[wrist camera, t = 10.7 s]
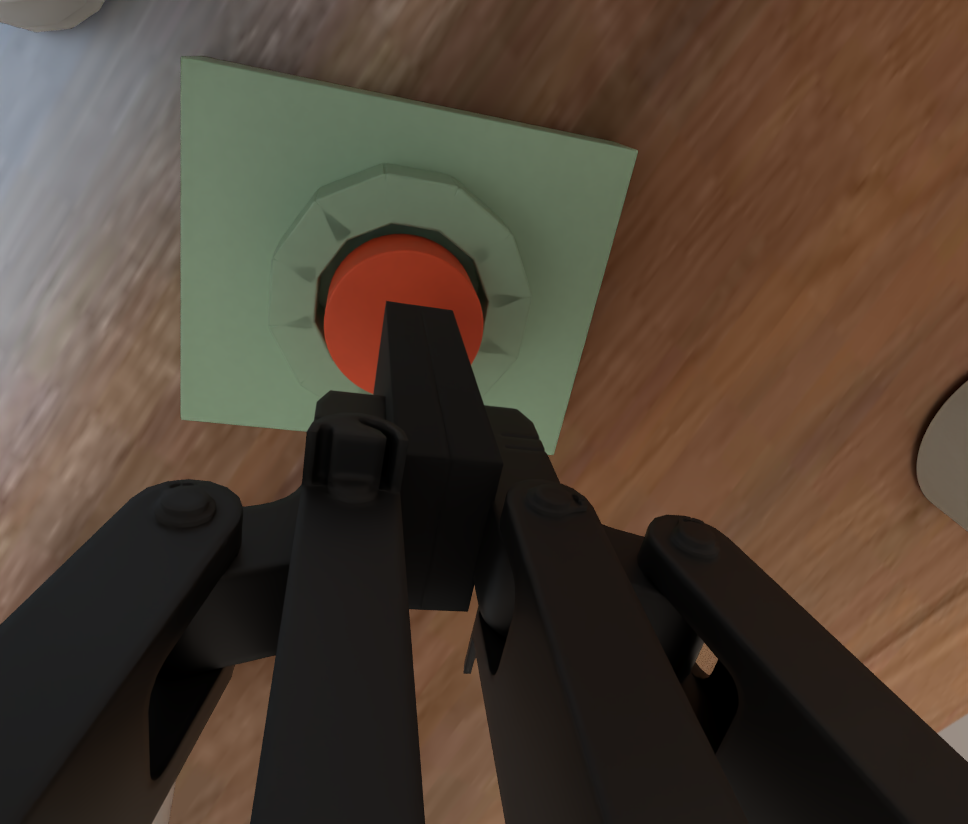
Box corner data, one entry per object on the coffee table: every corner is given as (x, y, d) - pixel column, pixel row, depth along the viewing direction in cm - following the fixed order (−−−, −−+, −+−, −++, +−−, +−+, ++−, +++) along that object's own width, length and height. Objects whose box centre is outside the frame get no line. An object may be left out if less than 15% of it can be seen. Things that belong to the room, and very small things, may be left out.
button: (320, 364, 19) (316, 391, 17) (334, 221, 17) (331, 237, 16) (460, 381, 20) (468, 408, 18) (487, 246, 18) (498, 263, 17)
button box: (196, 389, 23) (164, 450, 19) (199, 55, 18) (159, 56, 15) (539, 425, 25) (567, 484, 22) (613, 141, 21) (663, 159, 17)
